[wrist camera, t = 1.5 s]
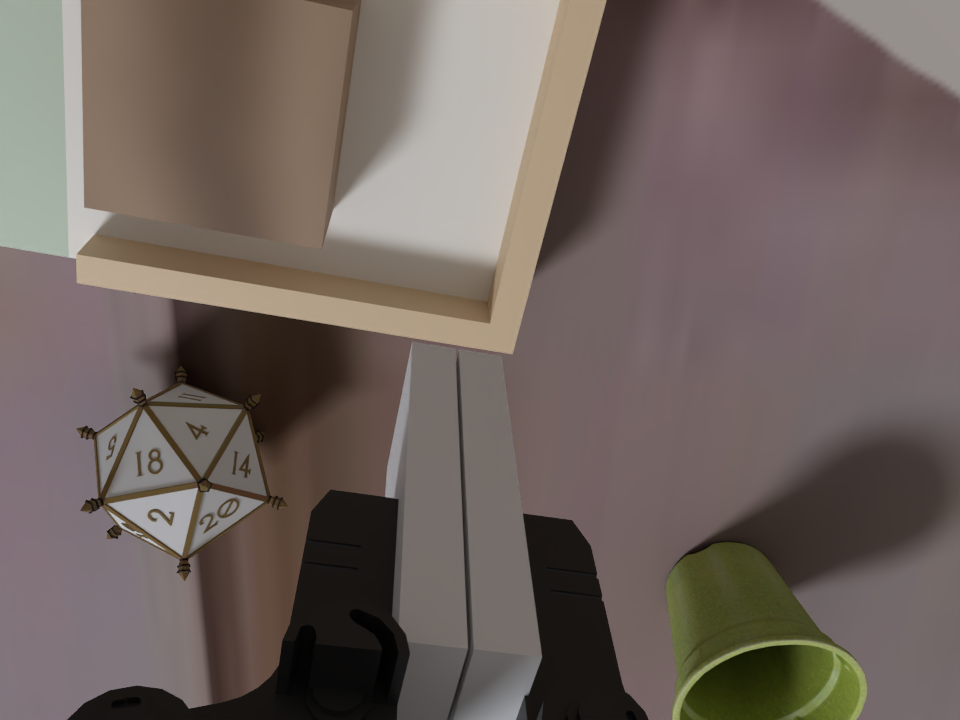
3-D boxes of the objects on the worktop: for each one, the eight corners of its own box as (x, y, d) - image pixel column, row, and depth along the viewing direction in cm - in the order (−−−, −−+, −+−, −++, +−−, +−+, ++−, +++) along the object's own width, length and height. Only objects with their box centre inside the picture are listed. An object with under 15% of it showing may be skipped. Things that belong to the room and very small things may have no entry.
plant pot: (669, 503, 46) (715, 629, 38) (828, 530, 47) (902, 655, 40) (614, 625, 50) (646, 759, 43) (761, 646, 52) (817, 778, 44)
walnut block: (121, 170, 32) (84, 207, 29) (122, -60, 28) (79, -49, 25) (333, 209, 34) (321, 249, 30) (362, -7, 30) (352, 10, 26)
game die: (231, 347, 44) (290, 356, 35) (269, 503, 45) (335, 548, 37) (42, 393, 40) (55, 415, 31) (90, 563, 41) (116, 630, 32)
